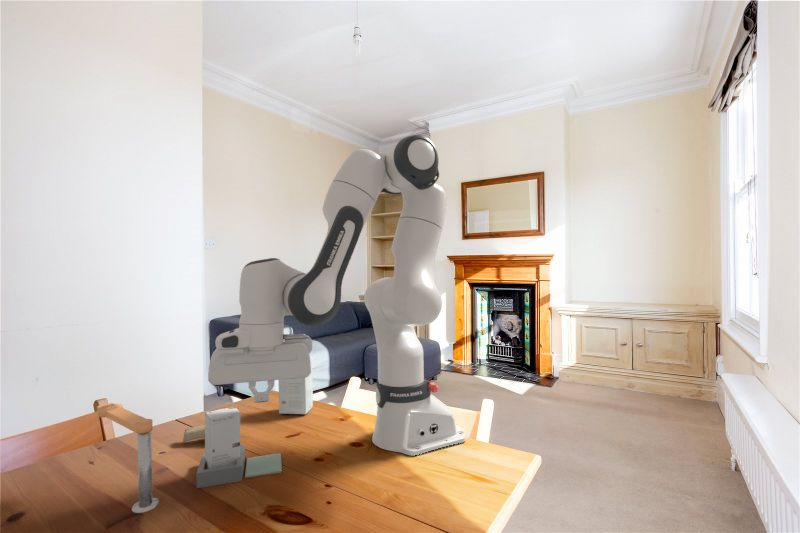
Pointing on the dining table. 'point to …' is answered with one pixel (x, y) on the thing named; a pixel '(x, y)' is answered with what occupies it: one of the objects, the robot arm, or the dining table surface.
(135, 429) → the wooden board
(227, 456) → the skincare box
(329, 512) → the dining table surface
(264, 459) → the mat
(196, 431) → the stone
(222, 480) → the grey slotted base
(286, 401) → the small box
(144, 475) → the post
